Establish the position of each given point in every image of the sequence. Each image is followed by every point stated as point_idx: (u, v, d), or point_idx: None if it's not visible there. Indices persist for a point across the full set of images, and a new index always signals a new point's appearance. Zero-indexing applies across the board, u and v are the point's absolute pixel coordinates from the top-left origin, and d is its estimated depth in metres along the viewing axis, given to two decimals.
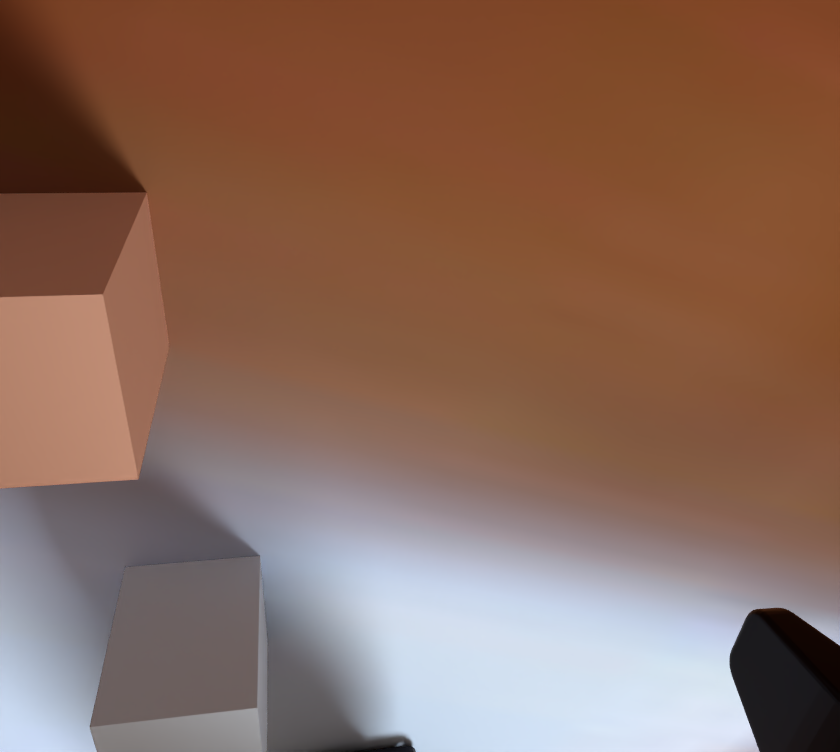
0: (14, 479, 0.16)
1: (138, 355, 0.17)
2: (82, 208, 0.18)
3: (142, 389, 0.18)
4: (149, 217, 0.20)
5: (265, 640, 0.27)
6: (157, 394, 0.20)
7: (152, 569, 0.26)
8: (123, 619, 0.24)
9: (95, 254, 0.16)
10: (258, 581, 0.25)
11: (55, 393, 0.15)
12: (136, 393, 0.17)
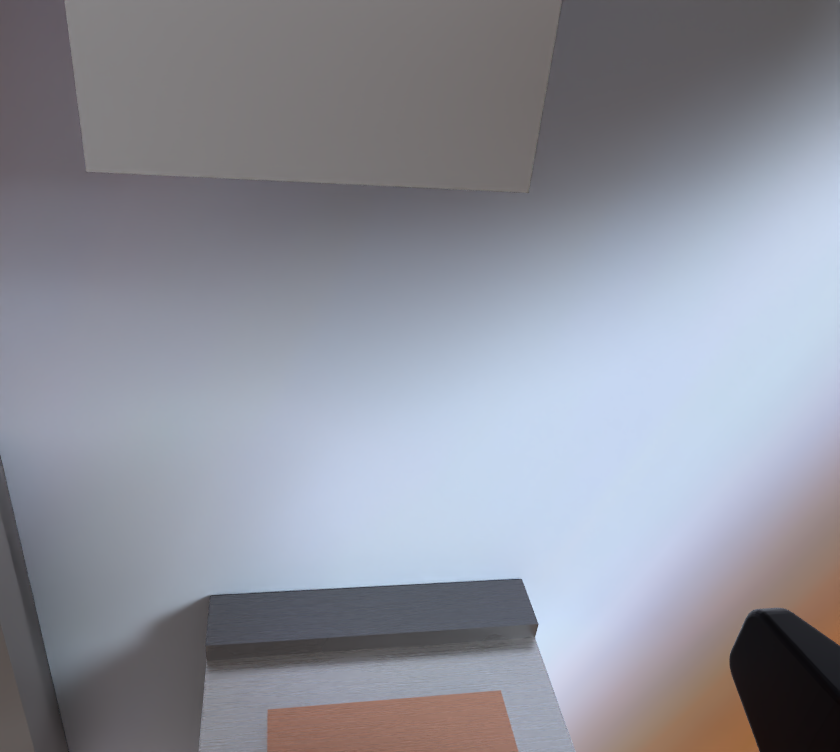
0: None
1: None
2: None
3: None
4: None
5: None
6: None
7: None
8: None
9: None
10: None
11: None
12: None
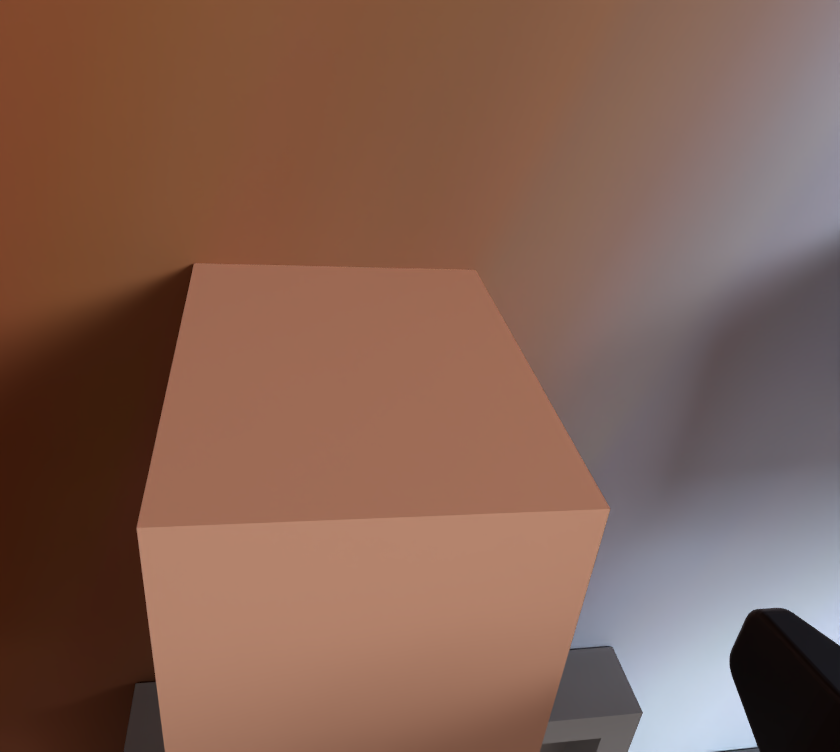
0: (544, 674, 0.09)
1: (385, 402, 0.09)
2: None
3: (456, 409, 0.09)
4: (233, 268, 0.12)
5: None
6: (515, 346, 0.10)
7: None
8: None
9: None
10: None
11: (370, 610, 0.08)
12: (441, 442, 0.08)
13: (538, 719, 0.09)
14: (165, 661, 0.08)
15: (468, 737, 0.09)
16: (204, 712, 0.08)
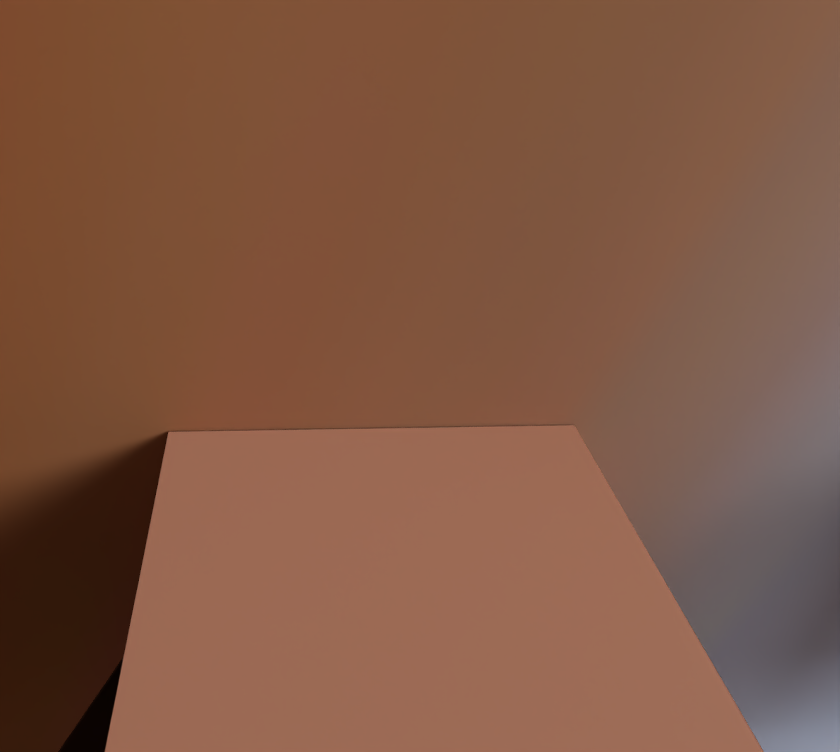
0: None
1: None
2: None
3: None
4: (226, 442, 0.08)
5: None
6: (670, 600, 0.07)
7: None
8: None
9: None
10: None
11: None
12: None
13: None
14: None
15: None
16: None
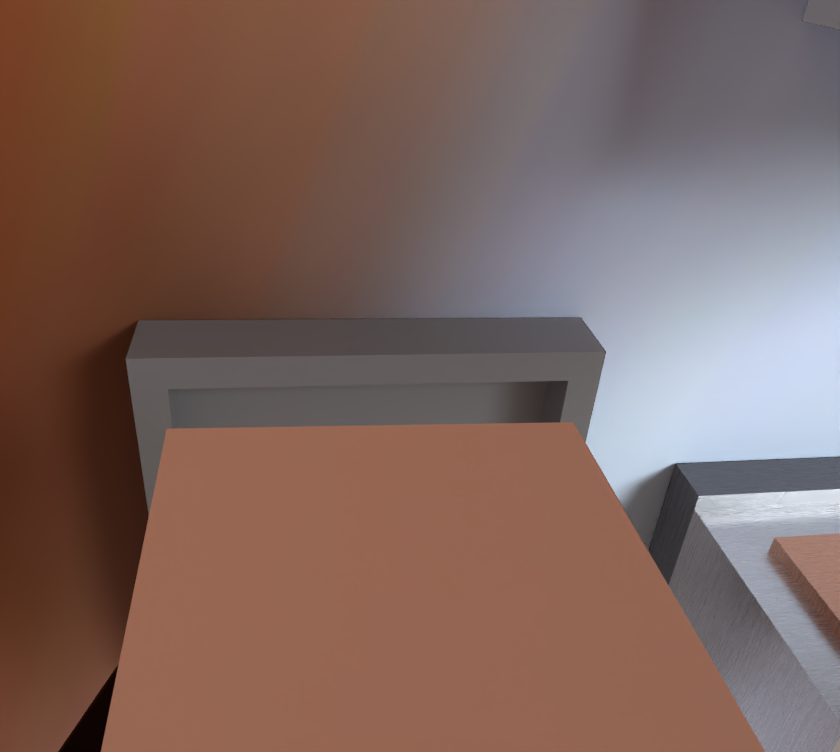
0: None
1: None
2: None
3: None
4: (224, 439, 0.08)
5: None
6: (669, 596, 0.07)
7: None
8: None
9: None
10: None
11: None
12: None
13: None
14: None
15: None
16: None
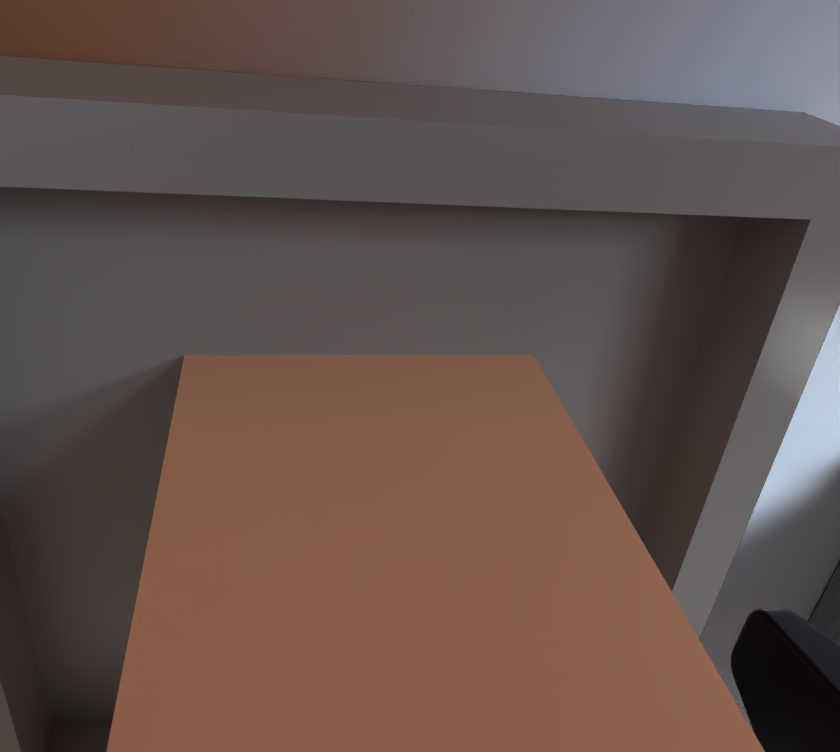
0: None
1: (443, 590, 0.06)
2: None
3: (542, 599, 0.06)
4: (233, 363, 0.09)
5: None
6: (602, 479, 0.08)
7: None
8: None
9: None
10: None
11: None
12: (529, 665, 0.06)
13: None
14: None
15: None
16: None
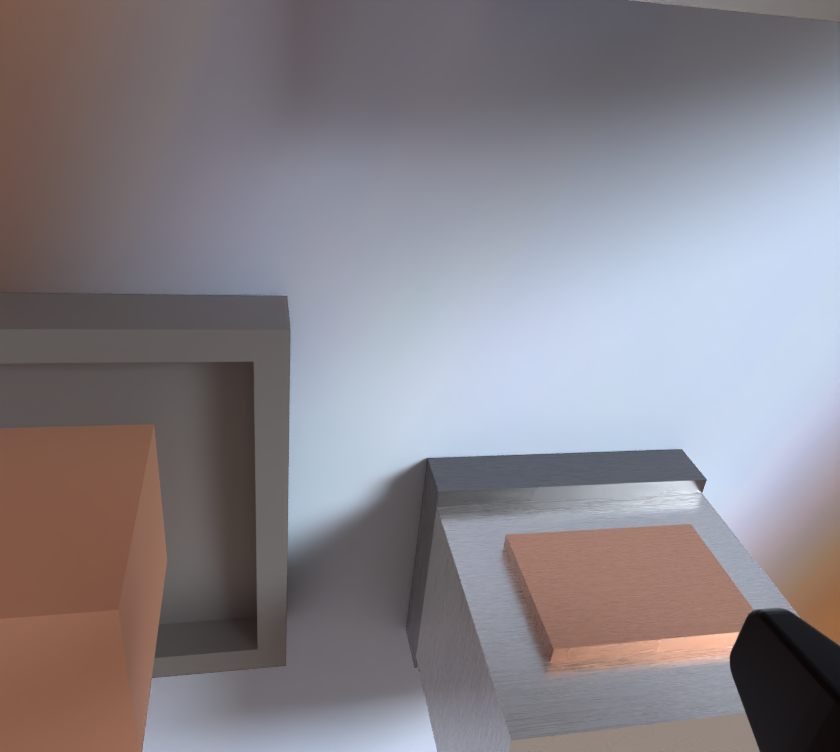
0: (119, 702, 0.15)
1: (23, 541, 0.15)
2: None
3: (67, 544, 0.15)
4: None
5: None
6: (138, 492, 0.16)
7: None
8: None
9: None
10: None
11: None
12: (42, 569, 0.14)
13: (128, 729, 0.15)
14: None
15: (84, 740, 0.15)
16: None
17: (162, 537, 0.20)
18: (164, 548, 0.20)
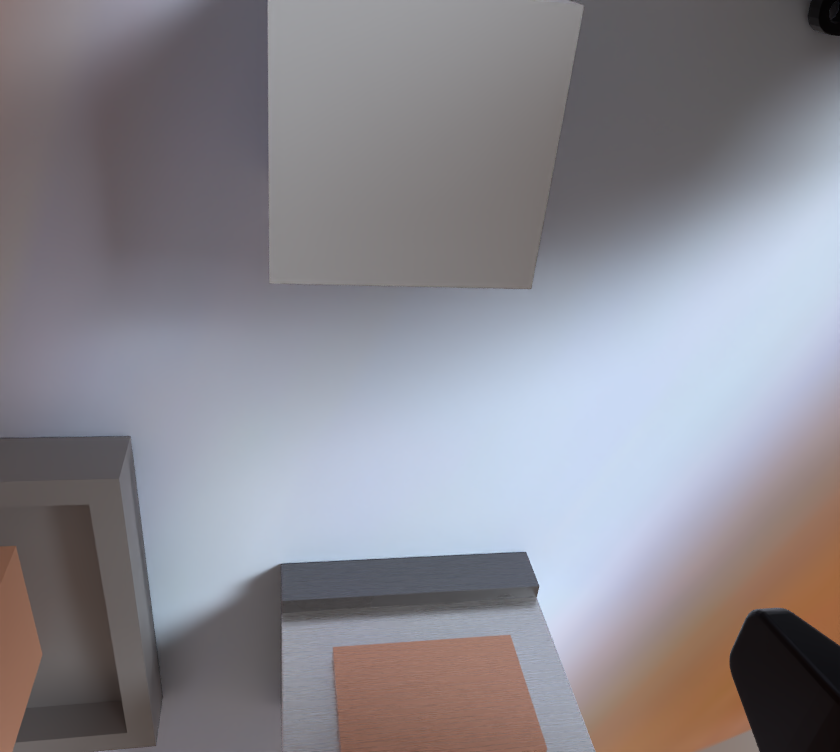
0: None
1: None
2: None
3: None
4: None
5: None
6: None
7: None
8: None
9: None
10: None
11: None
12: None
13: None
14: None
15: None
16: None
17: (32, 639, 0.22)
18: (36, 647, 0.23)
